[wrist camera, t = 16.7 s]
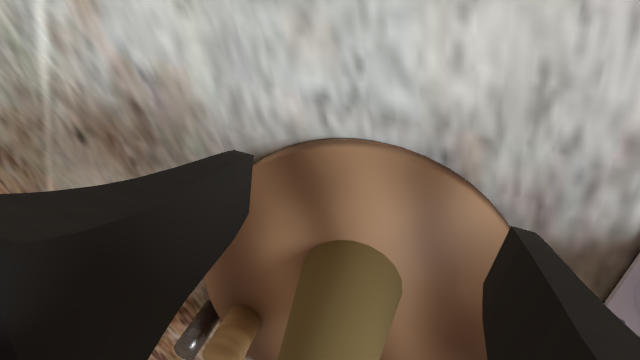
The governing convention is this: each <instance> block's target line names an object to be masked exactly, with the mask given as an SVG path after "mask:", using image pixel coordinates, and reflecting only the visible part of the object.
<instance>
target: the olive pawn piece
mask: <svg viewBox="0 0 640 360" xmlns="http://www.w3.org/2000/svg"><path fill="white" fill-rule="evenodd" d="M401 295H402V279H401V277H400V275H399V273H398V271H397V269H396V267H395V265H394V264H393V263H392V262H391V261H390V260H389V259H388V258H387V257H386V256H385V255H384V254H383V253H381V252H379V251H378V250H376V249H374V248H373V247H371V246H369V245H366V244H363V243H359V242H356V241H350V240H334V241H330V242H327V243H323V244H321V245H319V246H318V247H316V248H315V249H313V250H312V251H310V253H309V254H308V256H307V257H306V259H305V260H304V263H303V266H302V270H301V274H300V277H299V281H298V285H297V288H296V292H295V296H294V300H293V303H292V307H291V311H290V314H289V318H288V322H287V325H286V329H285V333H284V337H283V340H282V344H281V348H280V351H279V355H278V359H277V360H380V357H381V354H382V352H383V349H384V346H385V343H386V340H387V337H388V334H389V331H390V328H391V325H392V322H393V319H394V316H395V313H396V310H397V307H398V304H399V301H400V298H401Z"/></svg>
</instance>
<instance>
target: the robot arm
mask: <svg viewBox="0 0 640 360" xmlns="http://www.w3.org/2000/svg"><path fill="white" fill-rule="evenodd" d="M253 157H254V155H250V154H247V153H243V152H239V151H236V150H232V151H227V152H224V153H220V154H217V155H213V156H210V157H207V158H204V159H201V160H198V161H195V162H191V163H188V164H185V165H182V166H179V167H176V168H172V169H168V170H165V171H161V172H157V173H154V174H150V175H147V176H143V177H139V178H135V179H130V180H125V181H120V182H115V183H110V184H104V185H98V186H92V187H83V188H75V189H67V190H59V191H49V192H35V193H17V194H0V360H148V358H149V356H150V355H151V353H152V352H153V350H154V348H155V347H156V345H157V343H158V342H159V340H160V338H161V337H162V335H163V334H164V332H165V330H166V329H167V327H168V326H169V324H170V323H171V321H172V320H173V318H174V316H175V315H176V313H177V312H178V310H179V309H180V307H181V306H182V304H183V303H184V302H185V300H186V299H187V298H188V296H189V295H190V294H191V292H192V291H193V290H194V289H195V287H196V286H197V285H198V284H199V282H200V281H201V280H202V279H203V278H204V276H205V275H206V274H207V273H208V271H209V270H210V269H211V268H212V266H213V265H214V264H215V263H216V261H217V260H218V259H219V258H220V256H221V255H222V254H223V253H224V251H225V250H226V249H227V248H228V246H229V245H230V244H231V242H232V241H233V240H234V238H235V237H236V235H237V233H238V232H239V230H240V228H241V227H242V225H243V223H244V221H245V220H246V218H247V216H248V214H249V206H250V194H251V182H252V169H253ZM620 319H621V320H620ZM482 320H483V329H484V337H485V345H486V353H487V360H640V337H639V336H640V253H639V255H638V256H637V257H636V259H635V260H634V262H633V263H632V264H631V266H630V267H629V269H628V270H627V271H626V273H625V274H624V276H623V277H622V278H621V280H620V281H619V283H618V284H617V285H616V287H615V288H614V290H613V291H612V292H611V294H610V295H609V297H608V298H607V299H606V301H605V302H604V303H603V302H602V301H601V300H600V299H599V298H598V297H597V296H596V295H595V294H594V293H593V292H592V291H591V290H590V289H589V288H588V287H587V286H586V285H585V284H584V283H583V282H582V281H581V280H580V279H579V278H578V277H577V276H576V274H575V273H574V272H573V271H572V270H571V269H570V268H569V267H568V266H567V265H566V264H565V263H564V261H563V260H562V259H561V258H560V257H559V256H558V255H557V254H556V253H555V252H554V251H553V250H552V248H551V247H550V246H549V245H548V244H547V243H546V242H545V241H544V240H543V239H542V238H541V237H540V236H539V235H537V234H536V233H534V232H531V231H527V230H523V229H520V228H516V227H512V226H511V227H510V229H509V231H508V234H507V236H506V238H505V240H504V242H503V244H502V246H501V248H500V250H499V252H498V254H497V256H496V258H495V260H494V262H493V264H492V266H491V268H490V271H489V273H488V275H487V277H486V279H485V281H484V283H483V298H482Z"/></svg>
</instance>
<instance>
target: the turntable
mask: <svg viewBox="0 0 640 360" xmlns="http://www.w3.org/2000/svg"><path fill="white" fill-rule="evenodd" d="M509 229H510V227H509V225H508V224H507V222H506V220H505V219H504V217H503V216H502V215H501V214H500V213H499V211H498V210H497V209H496V208H495V207H494V205H493V204H492V203H491V202H490V201H489V199H487V198H486V197H485V196H484V195H483V194H482V193H481V192H480V191H479V190H478V189H476V188H475V187H474V186H473V185H472V184H471V183H470V182H468V181H467V180H465V179H464V178H462V177H461V176H459V175H458V174H457V173H455V172H454V171H452V170H451V169H449V168H447V167H445V166H443V165H441V164H440V163H438V162H436V161H434V160H432V159H430V158H428V157H426V156H423V155H421V154H418V153H415V152H413V151H410V150H407V149H405V148H401V147H397V146H393V145H389V144H385V143H381V142H376V141H368V140H359V139H325V140H317V141H310V142H304V143H301V144H297V145H294V146H290V147H286V148H284V149H282V150H279V151H277V152H275V153H272V154H270V155H268V156H266V157H265V158H263V159H261V160H260V161H258V162H257V163H255V164H254V165H253V169H252V182H251V194H250V206H249V214H248V216H247V218H246V220H245V221H244V223H243V225H242V227H241V228H240V230H239V232H238V233H237V235H236V237H235V238H234V240H233V241H232V242H231V244H230V245H229V246H228V248H227V249H226V250H225V251H224V253H223V254H222V255H221V256H220V258H219V259H218V260H217V261H216V263H215V264H214V265H213V266H212V268H211V269H210V270H209V271H208V273H207V274H206V275H205V276H204V278H203V279H204V283H205V286H206V290H207V293H208V295H209V298H210V300H211V302H212V304H213V307H214V309H215V310H216V312H217V314H218V315H219V317H220V319H221V321H222V322H221V324H220V325H219V327H218V329H217V330H216V332H215V333H214V335H213V337H212V338H211V340H210V341H209V343H208V344H207V346H206V348H205V349H204V351H203V358H204V360H243V359H244V357H245V355H246V353H247V352H248V353H250V354H251V355H252V356H253V357H254V358H255V359H256V360H277V359H278V355H279V351H280V348H281V344H282V340H283V337H284V333H285V329H286V325H287V322H288V318H289V314H290V311H291V307H292V303H293V300H294V296H295V292H296V288H297V285H298V281H299V277H300V274H301V270H302V266H303V263H304V260H305V259H306V257H307V256H308V254H309V253H310V251H312V250H313V249H315V248H316V247H318V246H319V245H321V244H323V243H327V242H330V241H334V240H350V241H356V242H359V243H363V244H366V245H369V246H371V247H373V248H374V249H376V250H378V251H379V252H381V253H383V254H384V255H385V256H386V257H387V258H388V259H389V260H390V261H391V262H392V263H393V264H394V265H395V267H396V269H397V271H398V273H399V275H400V277H401V279H402V295H401V298H400V301H399V304H398V307H397V310H396V313H395V316H394V319H393V322H392V325H391V328H390V331H389V334H388V337H387V340H386V343H385V346H384V349H383V352H382V354H381V357H380V360H487V353H486V345H485V337H484V329H483V320H482V298H483V283H484V281H485V279H486V277H487V275H488V273H489V271H490V268H491V266H492V264H493V262H494V260H495V258H496V256H497V254H498V252H499V250H500V248H501V246H502V244H503V242H504V240H505V238H506V236H507V234H508V231H509Z"/></svg>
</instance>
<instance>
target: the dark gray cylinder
mask: <svg viewBox="0 0 640 360" xmlns="http://www.w3.org/2000/svg"><path fill="white" fill-rule="evenodd" d="M219 319H220V317H219V315H218V314H217V312H216V310H215V309H214V307H213V304H212V302H210V301H209V302H206V303H205V304H204V305H203V307H202V308H201V309H200V311H199V312H198V314H197V315H196V316H195V318H194V319H193V321H192V322H191V323H190V325H189V326H188V328H187V329H186V330H185V332H184V333H183V334H182V336H181V337H180V339H179V340H178V341H177V343H176V344H175V346H174V350H175V352H176V354H177V355H178V356H180V357H181V358H183V359H185V360H193V359H194V358H195V357H196V355H197V353H198V352H199V350H200V349H201V347H202V346H203V344H204V343H205V341H206V339H207V338H208V336H209V335H210V333H211V332H212V330H213V328H214V327H215V325H216V324H217V322H218V321H219Z"/></svg>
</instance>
